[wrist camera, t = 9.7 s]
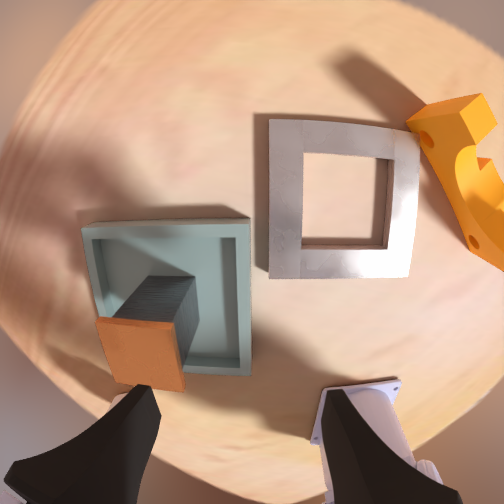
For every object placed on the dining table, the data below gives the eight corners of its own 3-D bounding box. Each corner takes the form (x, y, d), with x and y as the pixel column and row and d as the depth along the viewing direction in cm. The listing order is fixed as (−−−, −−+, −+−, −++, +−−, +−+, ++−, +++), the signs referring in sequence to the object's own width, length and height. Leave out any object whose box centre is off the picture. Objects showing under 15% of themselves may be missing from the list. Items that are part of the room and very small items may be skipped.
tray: (252, 361, 22) (251, 376, 20) (121, 351, 22) (113, 363, 21) (250, 217, 18) (249, 224, 17) (93, 222, 19) (80, 228, 17)
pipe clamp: (496, 221, 18) (546, 242, 11) (468, 250, 19) (517, 280, 12) (439, 95, 15) (494, 82, 9) (404, 121, 16) (459, 112, 10)
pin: (205, 324, 20) (183, 392, 14) (151, 321, 20) (115, 382, 14) (200, 271, 19) (170, 329, 12) (143, 270, 19) (94, 322, 12)
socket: (401, 271, 19) (407, 276, 18) (268, 273, 19) (268, 279, 18) (413, 134, 16) (420, 133, 15) (268, 121, 16) (269, 119, 15)
